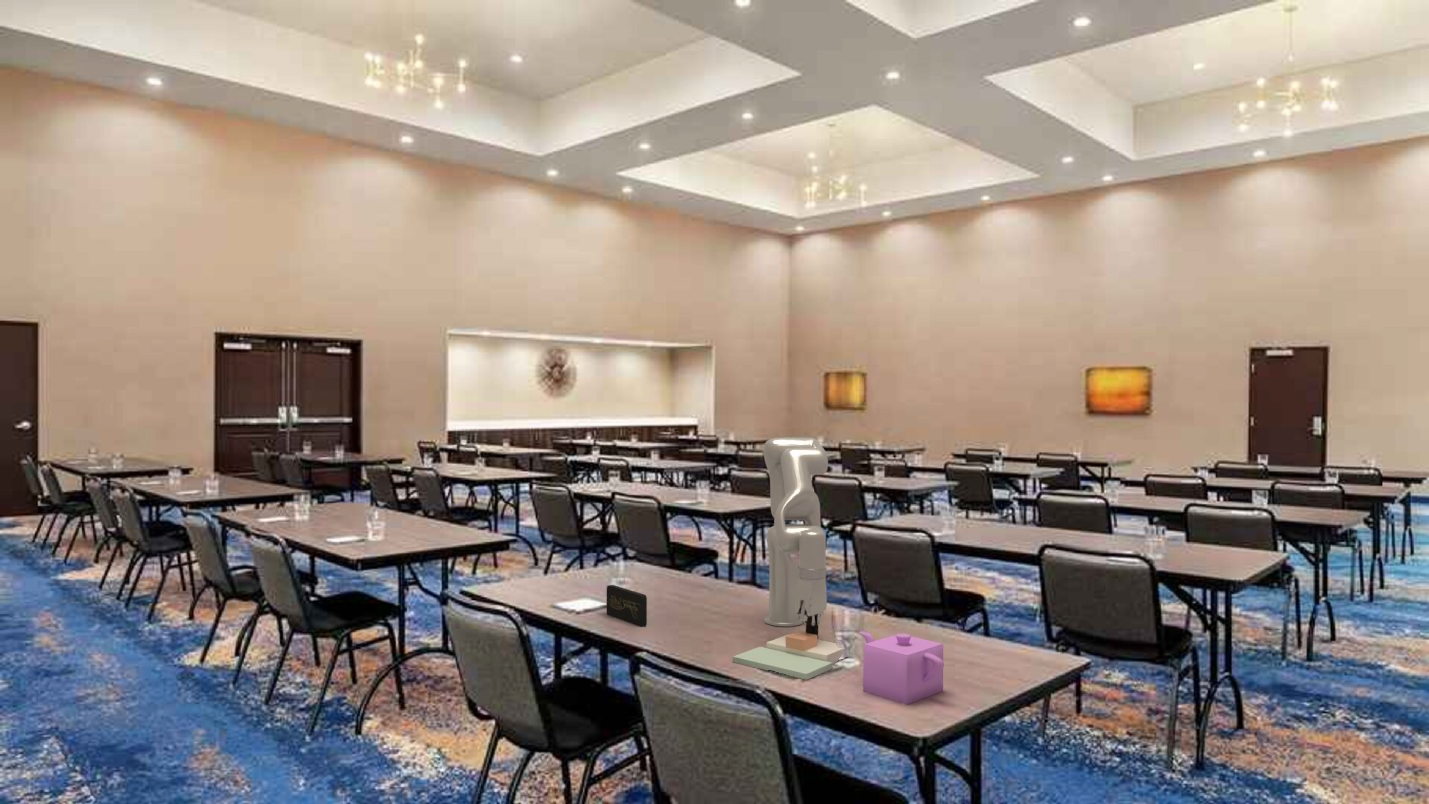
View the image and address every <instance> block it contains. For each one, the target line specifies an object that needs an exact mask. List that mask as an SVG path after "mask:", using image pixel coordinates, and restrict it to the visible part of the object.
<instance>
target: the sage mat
mask: <svg viewBox="0 0 1429 804" xmlns="http://www.w3.org/2000/svg"><path fill="white" fill-rule="evenodd" d="M732 663H734V664H739V665H743V666H748V667H751V668H757V669H761V670H765V671H768V670H774V671H776V672H779V673H778V674H780V673H784V674H786V675H785V676H788V675H789V676H788V677H793V676H794V677H793V678H796V679H802V680H804V681H805V680H806V681H807V680H809V679H811V678H814V677H816V676H818V675H821V674H823V673H825V672H827V671H829V670H832V669H833V664H832V663H831V662H827V661H822V660H818V659H813V658H809V657H804V656H800V655H795V654H791V653H786V652H782V651H777V650H773V649H768V648H766V647H763V646H758V647H756V648H755V647H754V648H752V649H750V650H747V651H745V652H741V653H739V654H737V655H733V656H732ZM776 672H775V673H776ZM784 674H783V675H784Z"/></svg>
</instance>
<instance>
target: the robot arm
mask: <svg viewBox="0 0 1429 804" xmlns="http://www.w3.org/2000/svg"><path fill="white" fill-rule="evenodd" d="M763 458H764V462H765V466H766V468H767V471H768V474H769V485H770V486H769V489H770V491H769V493H770V495H769V496H770V511H771V515H772V517H773V518H774V520H773V522H774V523H773V526H771V527H769V528H768V530H767V533H766V543H767V552H768V560H769V561H768V562H769V564H768V565H769V566H768V567H769V574H768V575H769V577H768V578H769V580H768V581H769V582H768V583H769V589H768V590H769V592H768V594H769V596H768V598H769V601H768V602H769V604H768V605H769V606H768V607H769V610H768V612H769V615H766V616H765V617H764V621H763V622H765V624H767V625H770V626H775V627H795V626H799V625H800V626H801V625H802V624H803V623H804V625H805V633H809V634H815V635H818V636H817V639H818V640H819V624H820V622H821V620H820V619H821V617H822V616H823V615H824V612H825V611H826V610H827V606H828V605H827V604H828V603H827V602H828V599H827V597H828V596H827V595H828V594H827V591H828V590H827V583H826V574H827V573H826V572H827V571H826V570H827V569H826V567H827V565H826V563H827V562H826V560H827V558H826V557H827V555H826V554H827V552H826V551H827V549H826V548H827V547H826V543H827V541H826V533H825V532H824V531H823V529H822V527H821V505H820V500H819V496H818V495H817V493H816V492H814V489H813V482H812V477H811V476H819V475H820V476H821V475H825V474H826V472H827V471H828V468H829V459H828V455H827V452H826V450H825V449H824V447H823V446H822V444H821V443H820V441H818V440H817V438H814V437H792V436H791V437H790V436H789V437H786V436H785V437H783V436H782V437H774V438H773V437H772V438H770V439H767V440H766V442H765V443H764V446H763ZM786 521H804V523H801V524H800V523H797V524H796V523H787V524H786ZM792 555H798V563H797V562H796V561H795V559H793V557H792Z"/></svg>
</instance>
